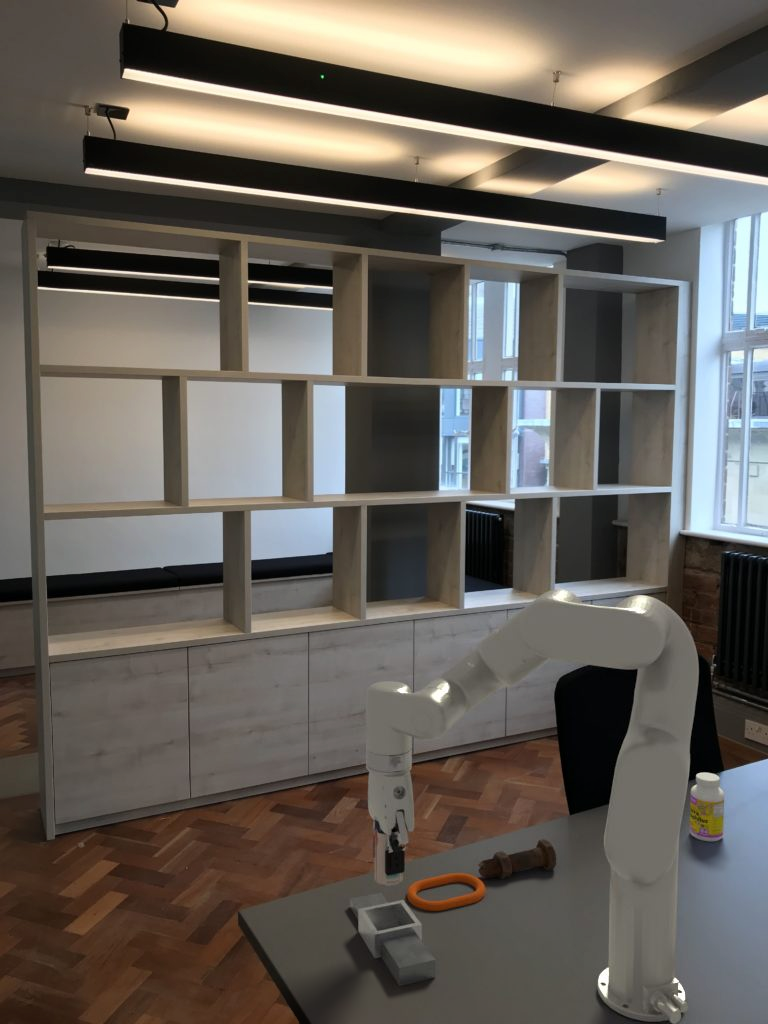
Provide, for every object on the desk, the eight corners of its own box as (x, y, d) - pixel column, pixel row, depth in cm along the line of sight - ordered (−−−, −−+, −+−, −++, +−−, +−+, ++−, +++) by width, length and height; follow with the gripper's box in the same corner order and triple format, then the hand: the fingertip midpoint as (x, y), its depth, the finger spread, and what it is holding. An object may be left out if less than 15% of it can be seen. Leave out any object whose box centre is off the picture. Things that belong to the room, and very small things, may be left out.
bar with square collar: (441, 976, 133) (441, 951, 133) (392, 987, 131) (392, 962, 130) (387, 899, 156) (386, 878, 156) (344, 908, 153) (343, 886, 153)
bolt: (479, 887, 164) (548, 870, 169) (490, 885, 160) (559, 868, 165) (472, 855, 166) (540, 840, 172) (482, 852, 162) (551, 837, 167)
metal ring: (495, 891, 156) (420, 909, 150) (495, 900, 156) (420, 918, 151) (469, 867, 165) (398, 883, 159) (469, 875, 165) (398, 891, 160)
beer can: (386, 871, 146) (386, 802, 145) (408, 880, 143) (408, 810, 142) (368, 882, 142) (368, 811, 141) (390, 891, 139) (390, 819, 138)
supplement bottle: (682, 832, 183) (683, 773, 182) (705, 826, 185) (707, 768, 184) (706, 845, 177) (708, 784, 176) (730, 839, 179) (731, 779, 178)
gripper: (430, 774, 134) (429, 886, 136) (391, 739, 150) (391, 839, 152) (385, 780, 132) (385, 894, 133) (350, 744, 148) (351, 846, 149)
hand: (388, 864), depth 142 cm, fingers closed on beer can, 4 cm apart
